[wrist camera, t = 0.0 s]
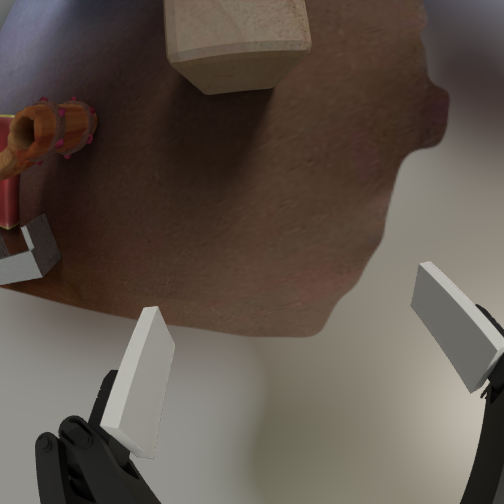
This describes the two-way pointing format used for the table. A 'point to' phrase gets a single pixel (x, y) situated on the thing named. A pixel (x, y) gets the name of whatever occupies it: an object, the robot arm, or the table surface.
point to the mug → (46, 134)
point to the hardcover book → (8, 183)
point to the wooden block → (235, 42)
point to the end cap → (30, 253)
